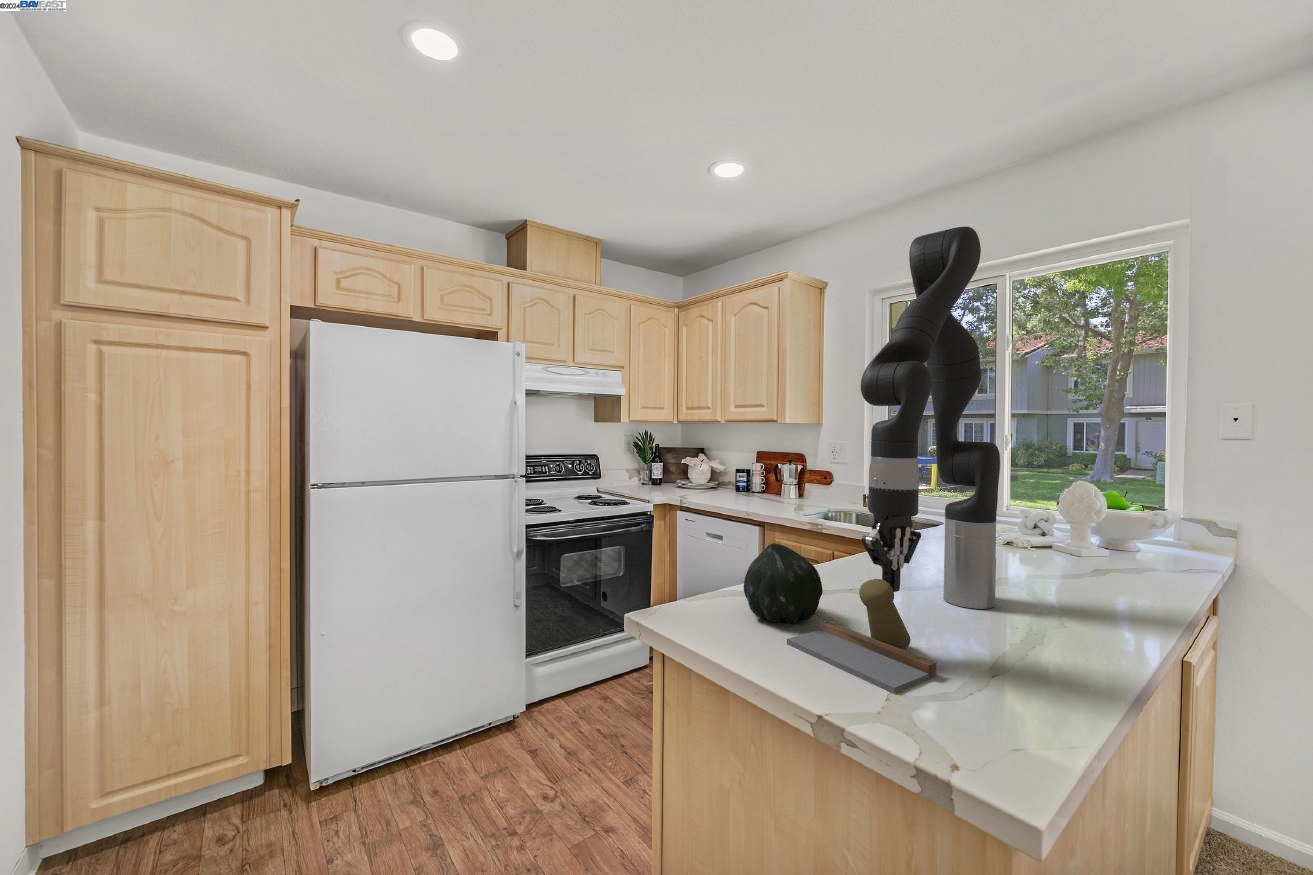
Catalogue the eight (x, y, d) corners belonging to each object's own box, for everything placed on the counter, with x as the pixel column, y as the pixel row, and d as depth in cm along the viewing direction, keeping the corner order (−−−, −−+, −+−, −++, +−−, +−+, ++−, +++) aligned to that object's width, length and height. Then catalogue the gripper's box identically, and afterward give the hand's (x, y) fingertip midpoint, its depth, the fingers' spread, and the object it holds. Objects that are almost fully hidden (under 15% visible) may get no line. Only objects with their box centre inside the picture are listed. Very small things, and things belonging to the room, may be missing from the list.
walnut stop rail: (827, 631, 98) (827, 620, 97) (936, 676, 81) (936, 662, 81) (819, 634, 96) (819, 622, 96) (928, 679, 80) (928, 665, 79)
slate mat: (819, 634, 96) (819, 629, 96) (928, 679, 80) (928, 673, 80) (786, 643, 92) (786, 638, 92) (894, 693, 75) (894, 687, 75)
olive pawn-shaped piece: (870, 653, 90) (851, 597, 87) (873, 627, 95) (856, 574, 92) (910, 653, 87) (892, 596, 84) (911, 627, 91) (894, 572, 89)
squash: (827, 578, 112) (778, 522, 112) (845, 605, 97) (788, 541, 97) (773, 621, 113) (725, 566, 114) (783, 655, 99) (727, 591, 99)
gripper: (888, 489, 83) (886, 603, 84) (938, 485, 90) (936, 590, 91) (847, 484, 90) (845, 590, 90) (897, 481, 97) (895, 579, 97)
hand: (891, 590), depth 90 cm, fingers closed
